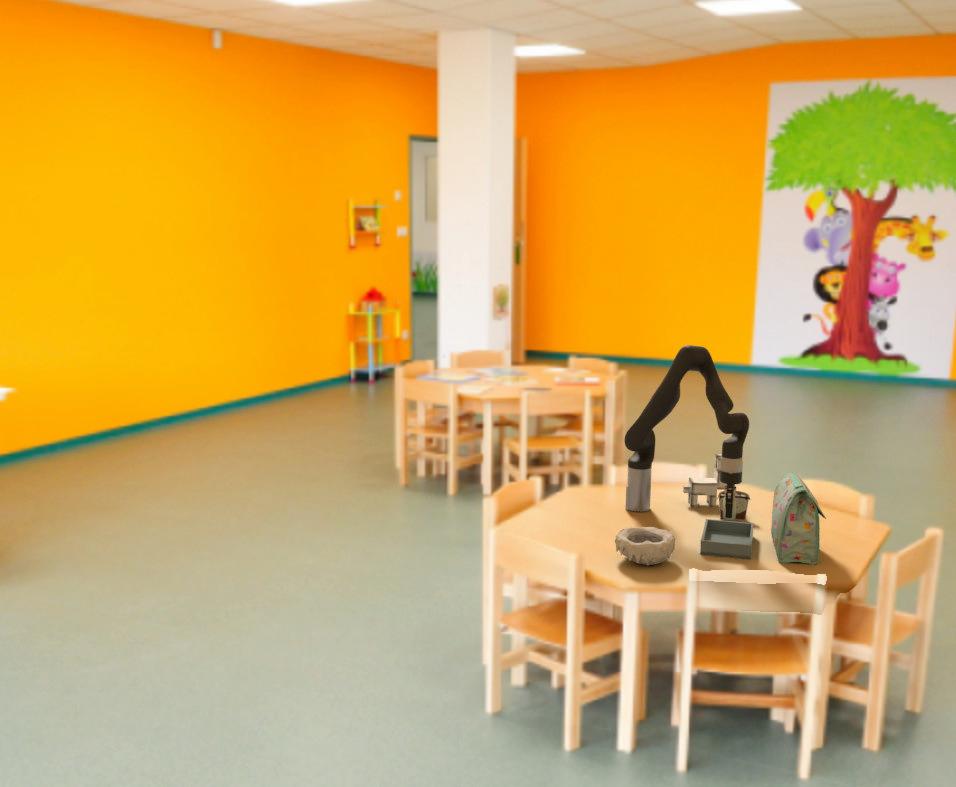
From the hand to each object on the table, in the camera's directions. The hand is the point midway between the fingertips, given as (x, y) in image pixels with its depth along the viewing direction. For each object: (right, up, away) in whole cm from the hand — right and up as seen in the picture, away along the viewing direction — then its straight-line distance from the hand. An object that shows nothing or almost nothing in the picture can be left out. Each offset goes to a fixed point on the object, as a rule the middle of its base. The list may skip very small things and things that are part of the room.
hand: (729, 515), depth 355 cm
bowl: (-32, -14, -13) cm, 37 cm away
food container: (+9, -5, +32) cm, 34 cm away
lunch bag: (+22, -13, -5) cm, 26 cm away
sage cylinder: (0, -1, 0) cm, 1 cm away
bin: (0, -11, +2) cm, 11 cm away
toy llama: (+2, -2, +48) cm, 48 cm away
